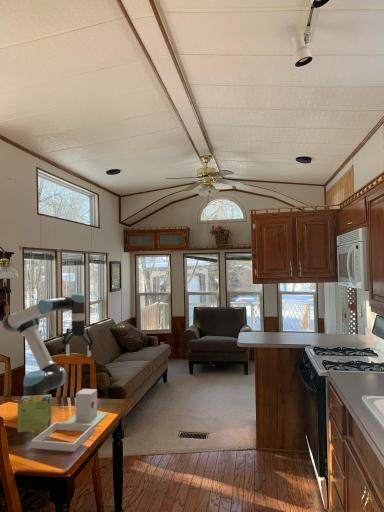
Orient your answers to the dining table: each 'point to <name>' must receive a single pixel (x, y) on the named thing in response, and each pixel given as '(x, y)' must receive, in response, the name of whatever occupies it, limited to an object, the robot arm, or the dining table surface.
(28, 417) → the protein box
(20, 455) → the dining table surface
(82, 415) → the supplement box
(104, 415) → the pad
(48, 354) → the robot arm
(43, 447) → the bin
